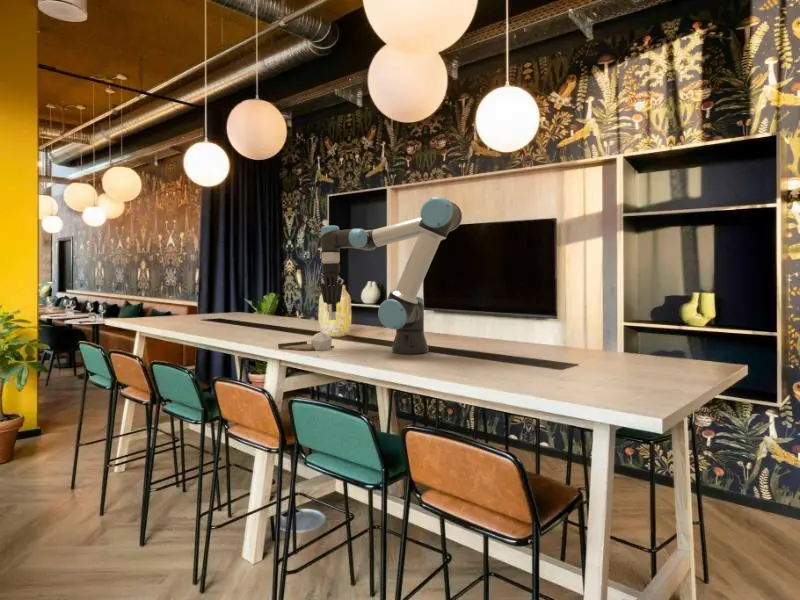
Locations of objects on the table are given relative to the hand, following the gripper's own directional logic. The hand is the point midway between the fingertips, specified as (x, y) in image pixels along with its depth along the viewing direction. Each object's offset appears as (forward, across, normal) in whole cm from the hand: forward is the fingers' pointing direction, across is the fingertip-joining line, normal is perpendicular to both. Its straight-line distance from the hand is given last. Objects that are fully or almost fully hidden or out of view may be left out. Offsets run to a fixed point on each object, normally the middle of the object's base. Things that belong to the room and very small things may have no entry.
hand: (332, 319), depth 225 cm
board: (+13, +16, 0) cm, 20 cm away
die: (+13, +2, 0) cm, 13 cm away
